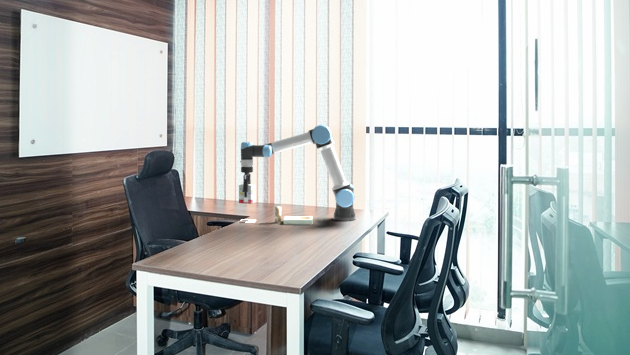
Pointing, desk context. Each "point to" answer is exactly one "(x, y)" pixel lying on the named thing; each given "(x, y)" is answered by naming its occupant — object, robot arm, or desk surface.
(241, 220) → the mat
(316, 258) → the desk surface
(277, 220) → the peg
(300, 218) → the socket board
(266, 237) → the desk surface
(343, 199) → the robot arm
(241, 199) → the ink box
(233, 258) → the desk surface
